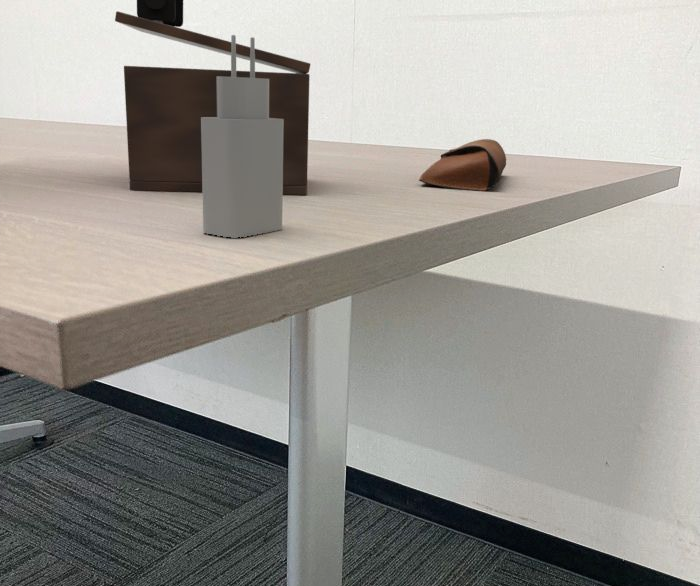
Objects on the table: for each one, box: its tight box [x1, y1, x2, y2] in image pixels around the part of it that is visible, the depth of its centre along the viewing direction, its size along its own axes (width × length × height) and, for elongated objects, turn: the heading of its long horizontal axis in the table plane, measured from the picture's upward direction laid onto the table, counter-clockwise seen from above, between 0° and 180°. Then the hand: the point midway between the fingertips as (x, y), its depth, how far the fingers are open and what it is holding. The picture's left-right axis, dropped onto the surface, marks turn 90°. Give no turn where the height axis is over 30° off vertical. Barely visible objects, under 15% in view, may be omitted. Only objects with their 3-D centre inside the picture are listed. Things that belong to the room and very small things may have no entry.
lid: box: [114, 11, 311, 74], centre depth 70 cm, size 16×13×5 cm
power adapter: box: [201, 34, 284, 239], centre depth 49 cm, size 3×5×12 cm, turn 148°
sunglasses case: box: [418, 138, 507, 192], centre depth 86 cm, size 18×7×7 cm, turn 168°
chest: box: [123, 65, 311, 196], centre depth 73 cm, size 16×13×10 cm
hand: (161, 20), depth 69 cm, fingers closed on lid, 5 cm apart
